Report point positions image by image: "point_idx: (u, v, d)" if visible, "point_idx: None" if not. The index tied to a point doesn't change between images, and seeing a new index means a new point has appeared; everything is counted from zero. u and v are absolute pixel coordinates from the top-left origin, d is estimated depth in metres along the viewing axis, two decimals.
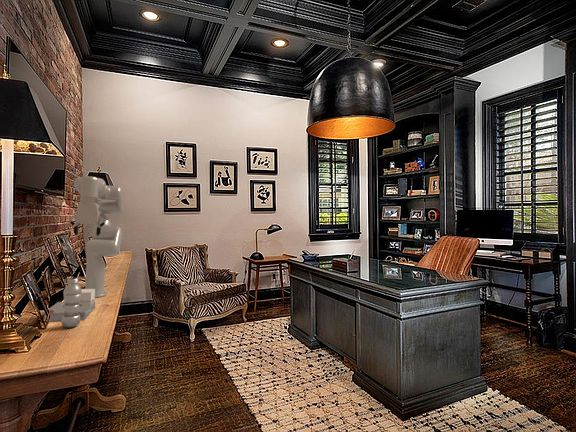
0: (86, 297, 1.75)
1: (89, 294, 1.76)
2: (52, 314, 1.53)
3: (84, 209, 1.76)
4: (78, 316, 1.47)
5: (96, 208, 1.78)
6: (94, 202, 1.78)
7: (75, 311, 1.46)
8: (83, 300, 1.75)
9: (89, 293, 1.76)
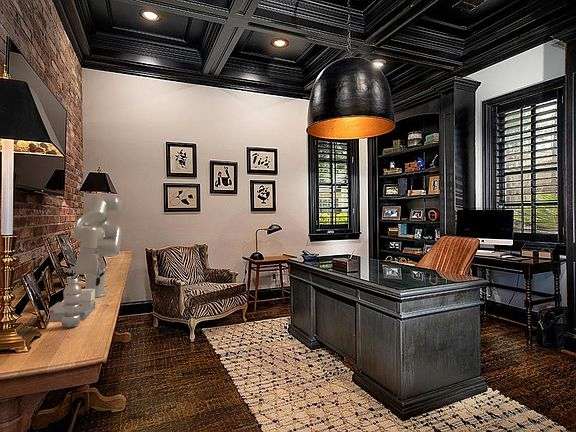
0: (86, 297, 1.75)
1: (89, 294, 1.76)
2: (52, 314, 1.53)
3: (83, 260, 1.76)
4: (78, 316, 1.47)
5: (96, 259, 1.78)
6: (94, 253, 1.78)
7: (75, 311, 1.46)
8: (83, 300, 1.75)
9: (89, 293, 1.76)
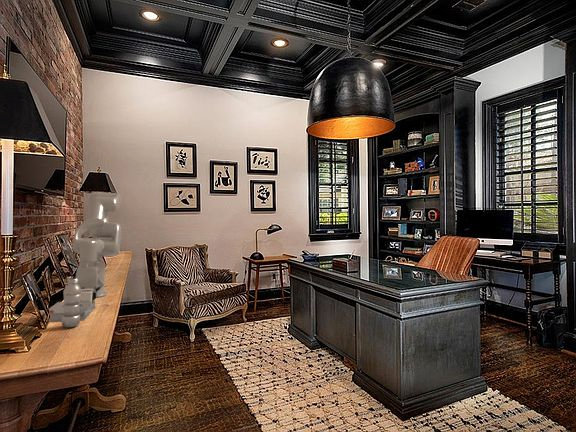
0: (86, 297, 1.75)
1: (89, 294, 1.76)
2: (52, 314, 1.53)
3: (83, 273, 1.76)
4: (78, 316, 1.47)
5: (95, 272, 1.78)
6: (93, 266, 1.78)
7: (75, 311, 1.46)
8: (83, 300, 1.75)
9: (89, 293, 1.76)
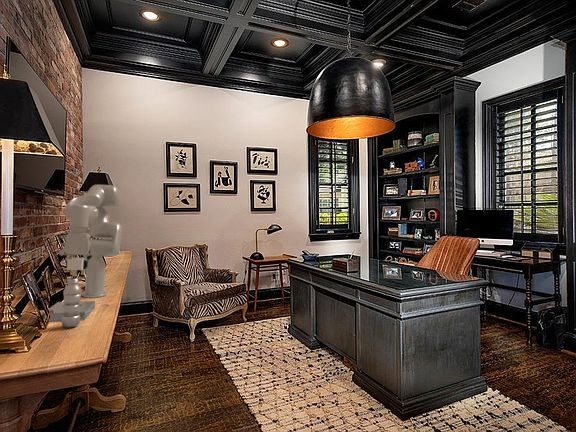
0: (76, 265, 1.64)
1: (80, 261, 1.64)
2: (52, 314, 1.53)
3: (73, 240, 1.65)
4: (78, 316, 1.47)
5: (87, 238, 1.67)
6: (84, 232, 1.67)
7: (75, 311, 1.46)
8: (73, 268, 1.63)
9: (80, 260, 1.64)
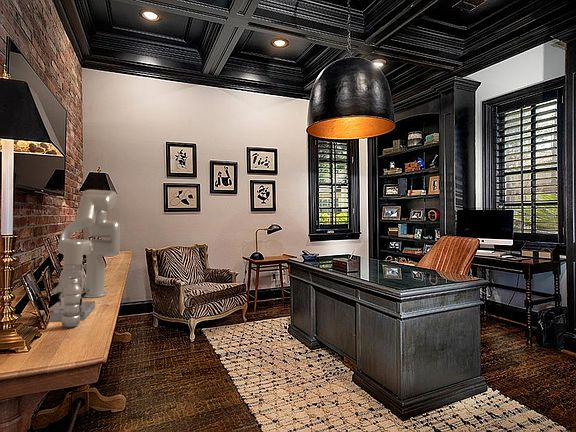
0: None
1: None
2: (52, 314, 1.53)
3: (67, 278, 1.61)
4: (78, 316, 1.47)
5: (81, 276, 1.63)
6: (78, 269, 1.63)
7: (75, 311, 1.46)
8: None
9: None
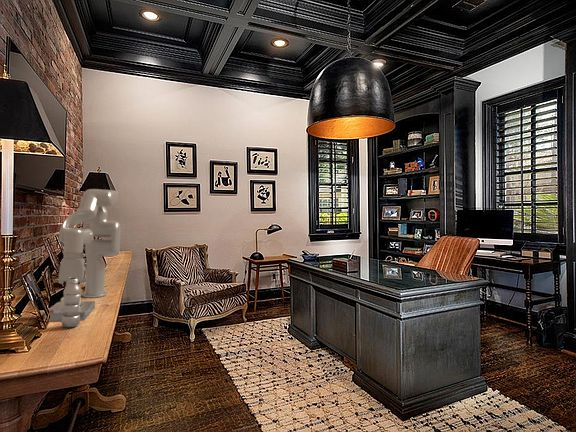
0: None
1: None
2: (52, 314, 1.53)
3: (67, 266, 1.61)
4: (78, 316, 1.47)
5: (81, 264, 1.63)
6: (79, 258, 1.63)
7: (75, 311, 1.46)
8: None
9: None
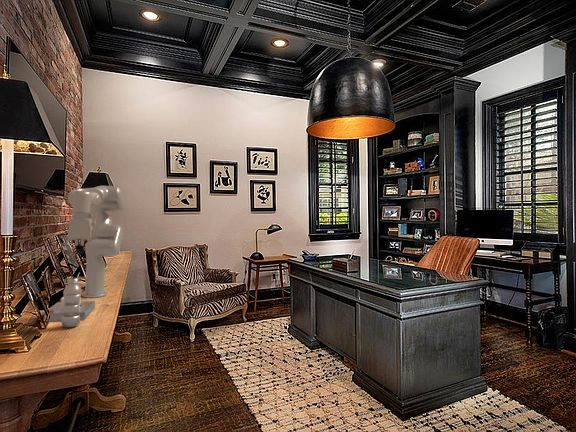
0: None
1: None
2: (52, 314, 1.53)
3: (76, 225, 1.72)
4: (78, 315, 1.47)
5: (89, 223, 1.74)
6: (87, 217, 1.73)
7: (75, 311, 1.46)
8: None
9: None
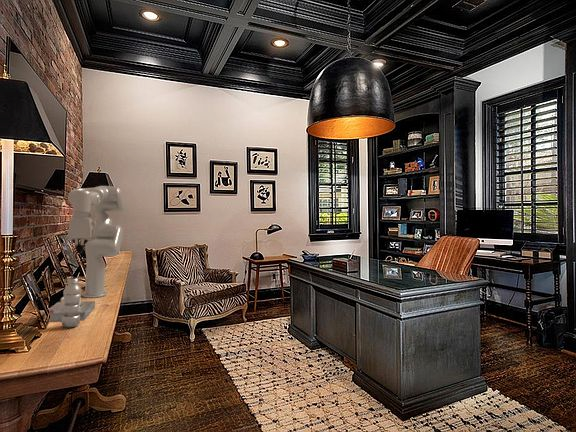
0: None
1: None
2: (52, 314, 1.53)
3: (76, 224, 1.72)
4: (78, 316, 1.47)
5: (89, 223, 1.74)
6: (87, 217, 1.73)
7: (75, 311, 1.46)
8: None
9: None
